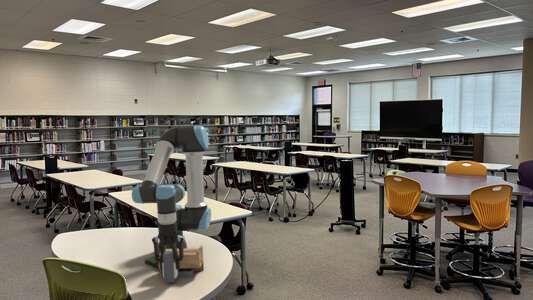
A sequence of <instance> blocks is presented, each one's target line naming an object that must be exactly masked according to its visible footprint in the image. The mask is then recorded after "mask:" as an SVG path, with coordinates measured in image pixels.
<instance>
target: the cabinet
mask: <svg viewBox="0 0 533 300" xmlns="http://www.w3.org/2000/svg"><path fill="white" fill-rule="evenodd" d="M203 246H204V245H199V247H198V248H195V247H193V248H188V247H187V249H183V250H184V258H183V260H182V261H179V265H180V267H179V268H195V272H198V271H199V272H202V271H204V270H205V266H204V265H205V264H204V262H205V261H204V247H203ZM166 251H172V249H166V250H165V252H166ZM177 251H178V255H179V249H177ZM160 254H161V252H160ZM160 254H159V255H160ZM158 263H159V270H158V277H159V279H161V278H162V279H163V270H161V269H160V262H158Z"/></svg>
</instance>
